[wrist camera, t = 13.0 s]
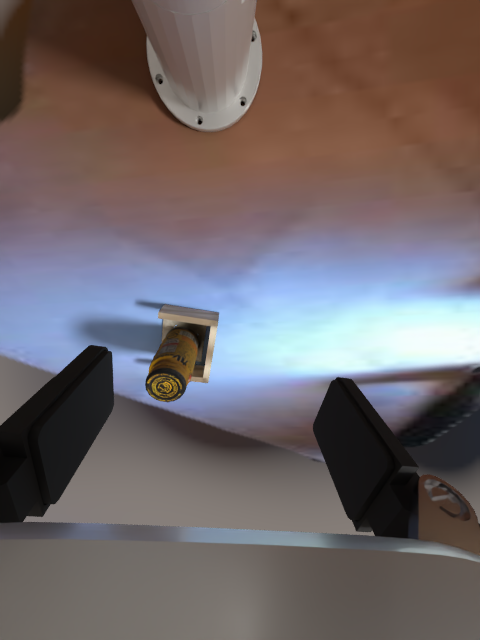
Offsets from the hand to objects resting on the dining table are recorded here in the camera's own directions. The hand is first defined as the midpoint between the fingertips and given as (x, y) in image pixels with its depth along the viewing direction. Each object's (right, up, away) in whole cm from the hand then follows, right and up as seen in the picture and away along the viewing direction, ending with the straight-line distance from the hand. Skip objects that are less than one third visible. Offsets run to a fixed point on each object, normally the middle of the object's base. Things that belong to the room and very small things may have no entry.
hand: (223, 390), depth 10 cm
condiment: (-9, 0, +31) cm, 32 cm away
